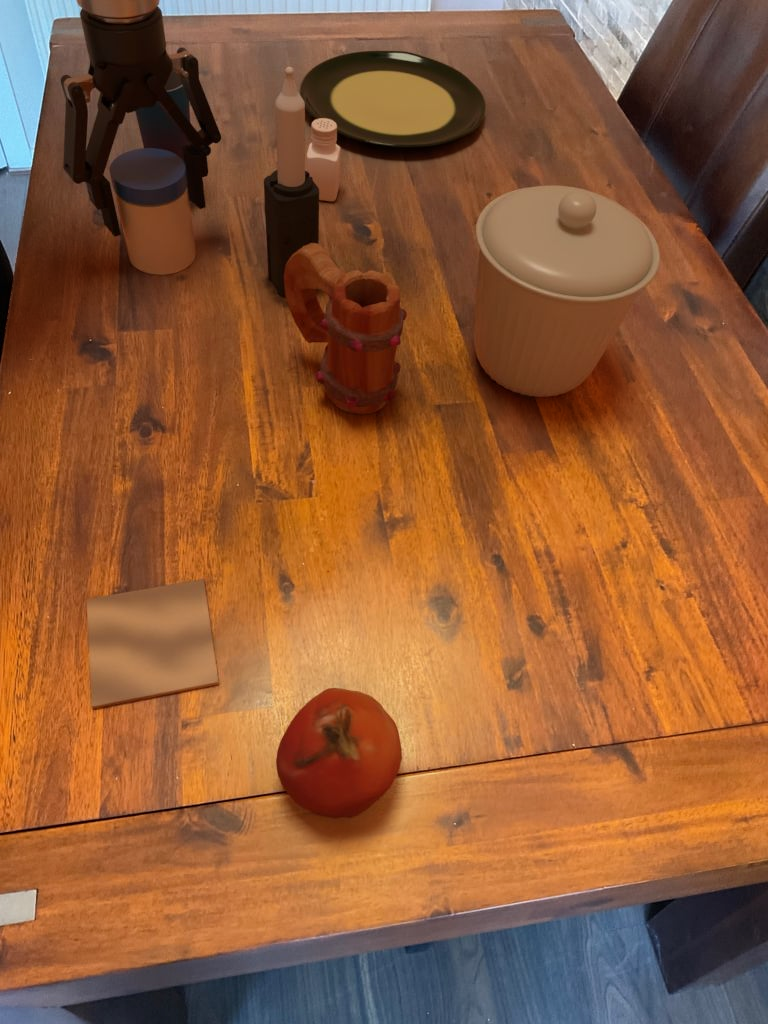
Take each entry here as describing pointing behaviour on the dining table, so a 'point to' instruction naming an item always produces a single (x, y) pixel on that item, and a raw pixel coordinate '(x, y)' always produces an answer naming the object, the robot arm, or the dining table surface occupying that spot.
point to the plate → (393, 98)
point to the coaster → (150, 643)
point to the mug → (348, 327)
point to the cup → (165, 121)
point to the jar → (158, 235)
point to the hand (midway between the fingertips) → (156, 215)
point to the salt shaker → (324, 158)
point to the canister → (555, 284)
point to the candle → (289, 187)
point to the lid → (148, 176)
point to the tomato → (339, 754)
